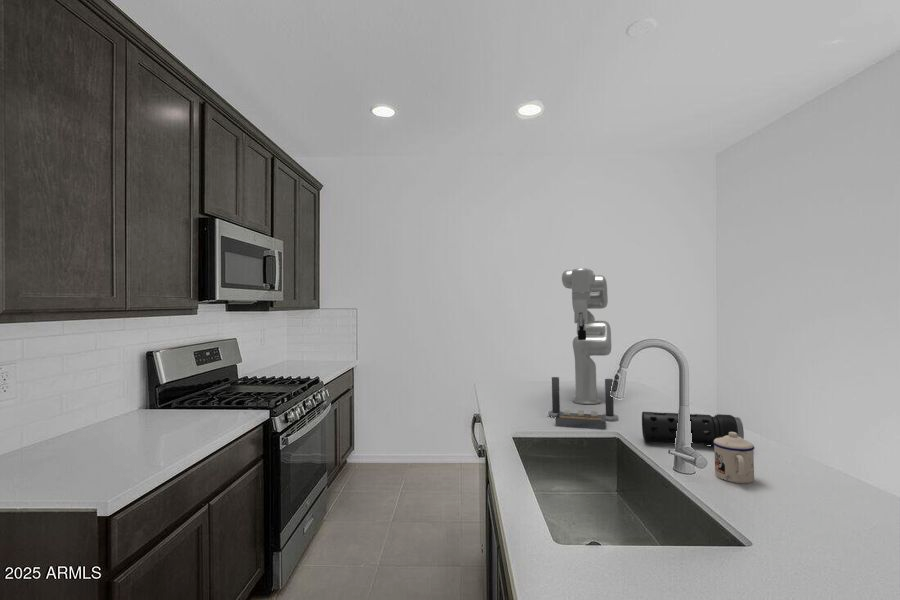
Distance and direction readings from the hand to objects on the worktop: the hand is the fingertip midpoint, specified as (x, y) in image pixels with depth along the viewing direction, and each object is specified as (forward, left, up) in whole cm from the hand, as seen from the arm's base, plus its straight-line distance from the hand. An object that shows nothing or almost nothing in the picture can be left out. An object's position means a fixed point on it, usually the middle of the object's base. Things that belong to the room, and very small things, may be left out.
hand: (582, 339), depth 193 cm
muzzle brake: (+38, +35, -32) cm, 61 cm away
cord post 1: (+10, -10, -31) cm, 34 cm away
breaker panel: (+21, 0, -31) cm, 38 cm away
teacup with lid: (+67, +41, -31) cm, 85 cm away
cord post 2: (+10, +11, -31) cm, 34 cm away
